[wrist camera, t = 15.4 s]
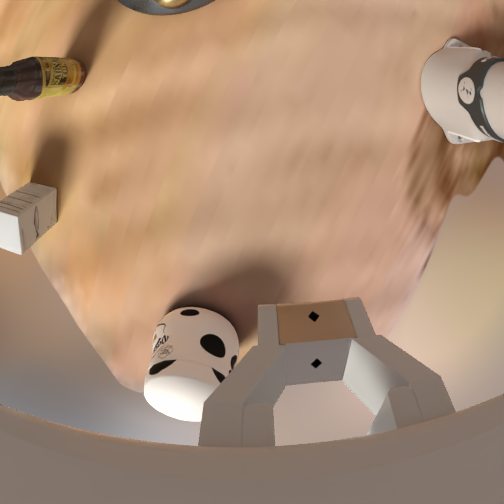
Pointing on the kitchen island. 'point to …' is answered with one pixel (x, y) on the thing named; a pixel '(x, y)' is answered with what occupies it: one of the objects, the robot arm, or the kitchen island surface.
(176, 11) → the levelling plate
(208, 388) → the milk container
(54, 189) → the supplement box
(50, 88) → the sauce bottle
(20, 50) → the kitchen island surface
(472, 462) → the robot arm
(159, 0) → the lever knob
